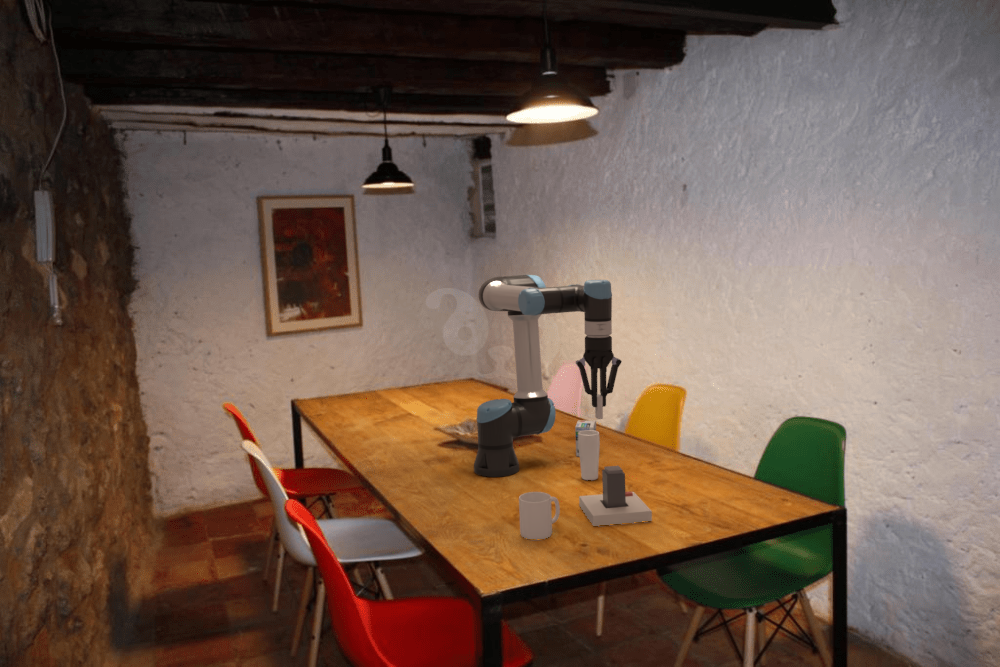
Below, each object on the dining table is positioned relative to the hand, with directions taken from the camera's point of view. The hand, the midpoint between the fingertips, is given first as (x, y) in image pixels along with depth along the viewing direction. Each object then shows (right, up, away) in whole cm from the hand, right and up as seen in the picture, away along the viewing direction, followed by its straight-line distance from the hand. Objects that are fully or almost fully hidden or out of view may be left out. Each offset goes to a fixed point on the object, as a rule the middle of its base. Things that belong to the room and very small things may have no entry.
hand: (599, 417), depth 211 cm
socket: (+4, -26, -5) cm, 27 cm away
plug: (+4, -26, -5) cm, 27 cm away
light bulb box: (+3, -19, +56) cm, 59 cm away
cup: (-17, -28, -17) cm, 37 cm away
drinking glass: (+1, -23, +27) cm, 35 cm away
